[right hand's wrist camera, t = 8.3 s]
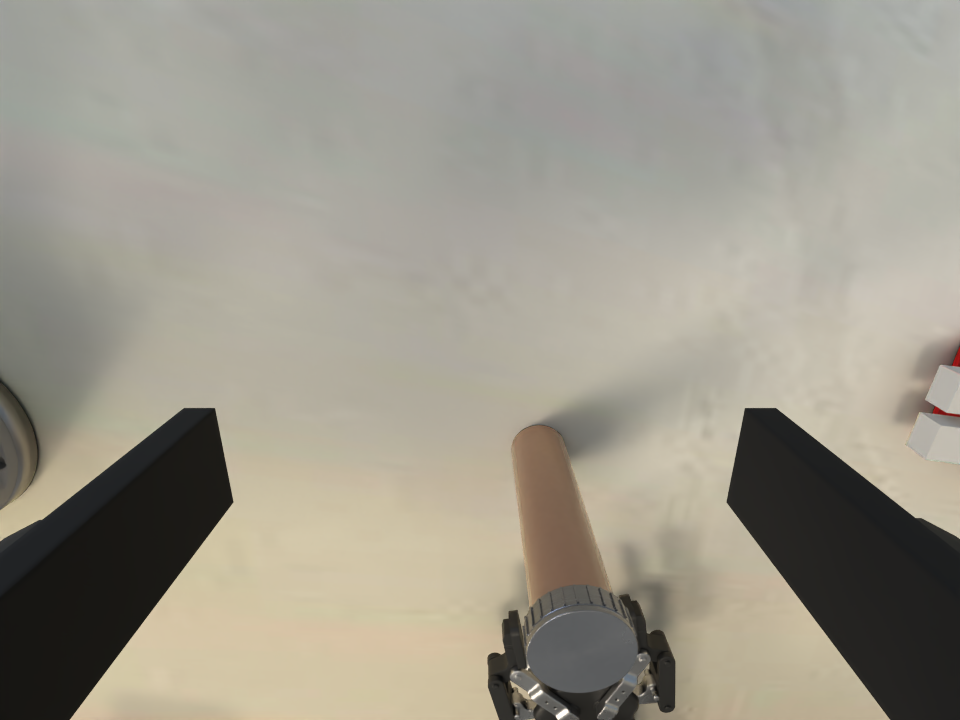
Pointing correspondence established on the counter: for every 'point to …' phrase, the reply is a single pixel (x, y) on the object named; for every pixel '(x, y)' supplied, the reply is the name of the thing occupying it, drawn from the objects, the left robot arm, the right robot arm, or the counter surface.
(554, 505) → the jar
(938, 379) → the toy
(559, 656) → the lid
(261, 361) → the counter surface
